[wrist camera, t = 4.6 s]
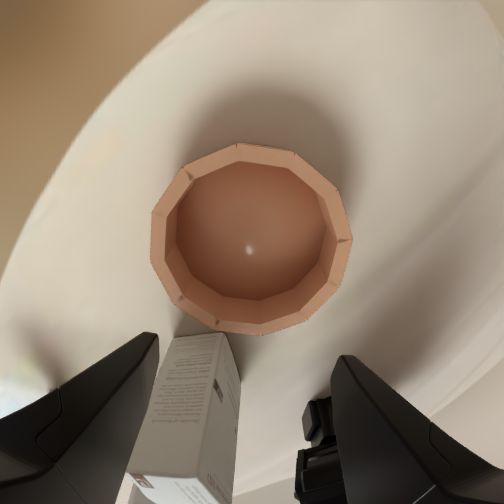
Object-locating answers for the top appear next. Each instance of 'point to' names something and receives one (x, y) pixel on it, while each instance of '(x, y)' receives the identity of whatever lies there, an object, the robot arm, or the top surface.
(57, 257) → the top surface
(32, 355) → the top surface
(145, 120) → the top surface
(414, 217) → the top surface
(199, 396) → the skincare box
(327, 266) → the faceted terracotta bowl
